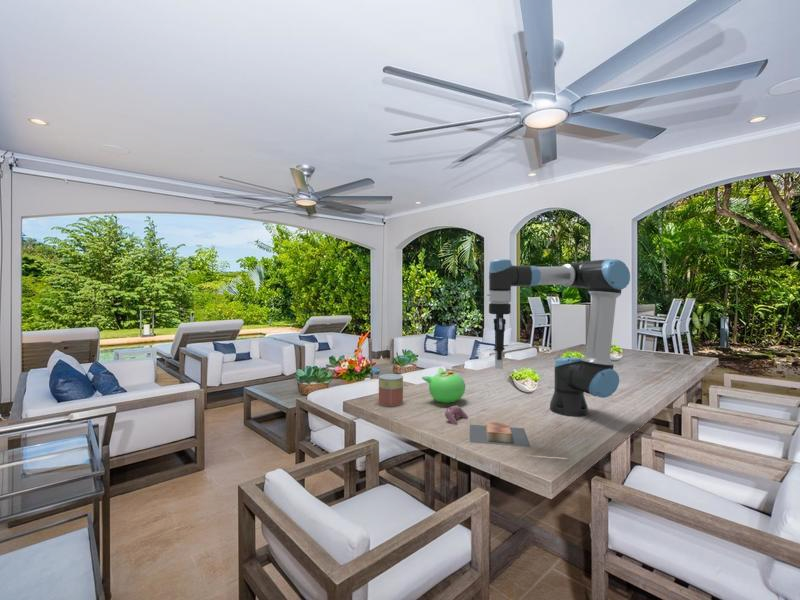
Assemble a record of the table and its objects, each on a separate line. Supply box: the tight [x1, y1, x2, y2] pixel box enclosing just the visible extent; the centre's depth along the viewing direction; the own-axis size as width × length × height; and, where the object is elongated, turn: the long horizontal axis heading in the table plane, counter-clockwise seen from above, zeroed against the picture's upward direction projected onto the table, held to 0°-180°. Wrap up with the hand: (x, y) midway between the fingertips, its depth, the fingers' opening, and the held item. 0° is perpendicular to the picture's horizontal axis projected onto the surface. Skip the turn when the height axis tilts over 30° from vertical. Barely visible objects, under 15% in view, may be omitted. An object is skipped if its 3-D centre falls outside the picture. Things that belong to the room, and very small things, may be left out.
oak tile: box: [485, 421, 512, 442], centre depth 138 cm, size 8×3×10 cm
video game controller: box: [444, 405, 469, 426], centre depth 155 cm, size 10×5×7 cm, turn 142°
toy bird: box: [421, 367, 466, 404], centre depth 180 cm, size 18×17×15 cm
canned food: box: [378, 373, 404, 407], centre depth 179 cm, size 11×11×12 cm
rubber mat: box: [469, 424, 532, 448], centre depth 139 cm, size 20×17×1 cm
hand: (498, 368), depth 140 cm, fingers closed
